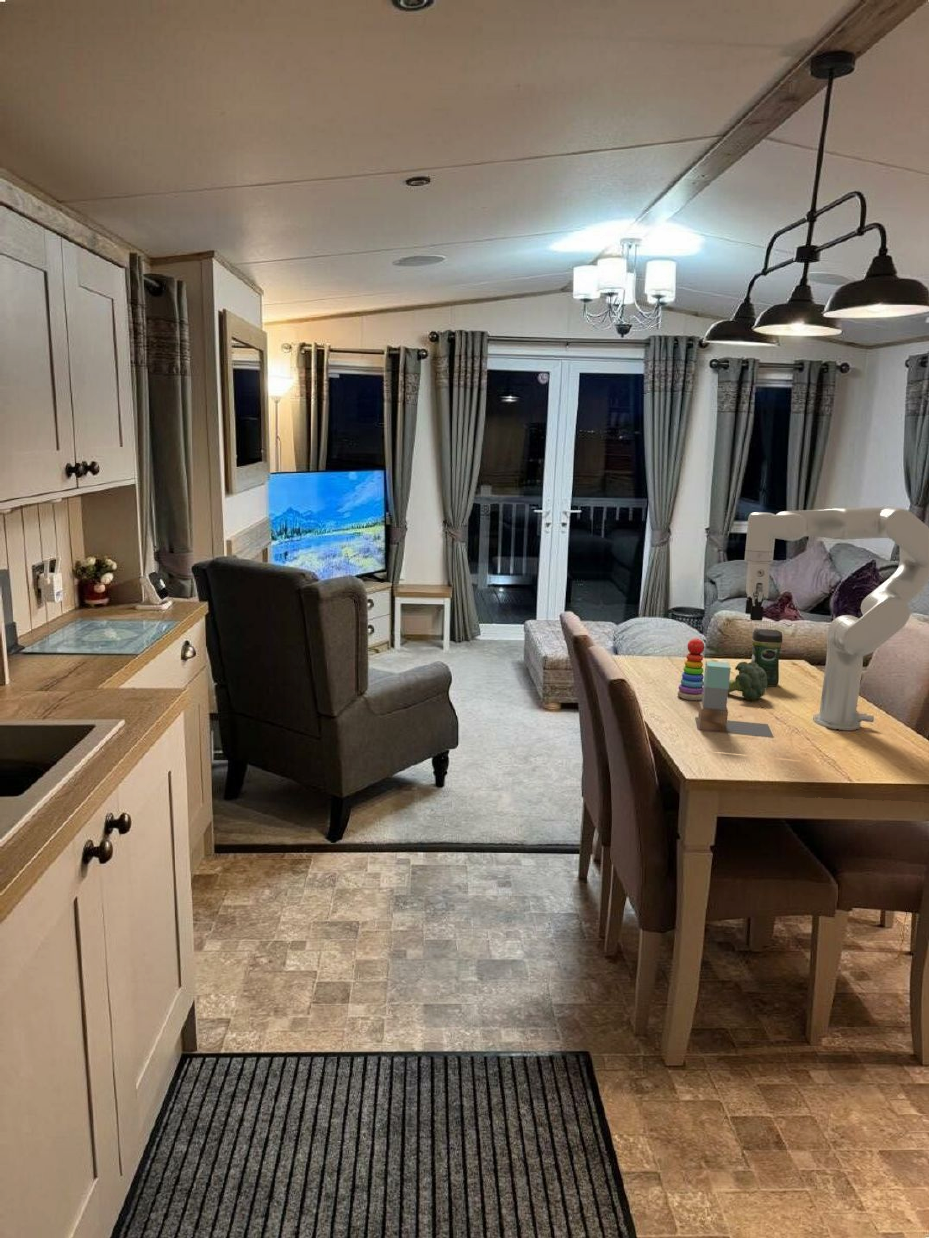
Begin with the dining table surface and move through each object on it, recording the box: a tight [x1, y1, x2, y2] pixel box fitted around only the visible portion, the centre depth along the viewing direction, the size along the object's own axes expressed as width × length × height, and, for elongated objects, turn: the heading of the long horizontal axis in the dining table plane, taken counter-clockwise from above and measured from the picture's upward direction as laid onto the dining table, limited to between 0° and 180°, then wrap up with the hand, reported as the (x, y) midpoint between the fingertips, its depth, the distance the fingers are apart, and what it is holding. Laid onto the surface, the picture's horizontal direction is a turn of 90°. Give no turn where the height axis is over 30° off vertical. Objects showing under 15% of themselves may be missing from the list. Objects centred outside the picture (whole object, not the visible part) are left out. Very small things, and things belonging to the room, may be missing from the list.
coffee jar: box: [750, 628, 783, 687], centre depth 286 cm, size 10×8×19 cm
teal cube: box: [703, 660, 732, 689], centre depth 235 cm, size 6×6×6 cm
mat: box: [694, 716, 775, 739], centre depth 239 cm, size 20×12×1 cm, turn 79°
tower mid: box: [701, 684, 729, 710], centre depth 236 cm, size 6×6×6 cm
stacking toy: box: [677, 638, 705, 701], centre depth 266 cm, size 8×8×19 cm
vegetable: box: [728, 661, 768, 702], centre depth 270 cm, size 12×13×15 cm
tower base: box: [698, 701, 729, 733], centre depth 237 cm, size 7×7×6 cm
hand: (753, 616), depth 243 cm, fingers open, 9 cm apart
